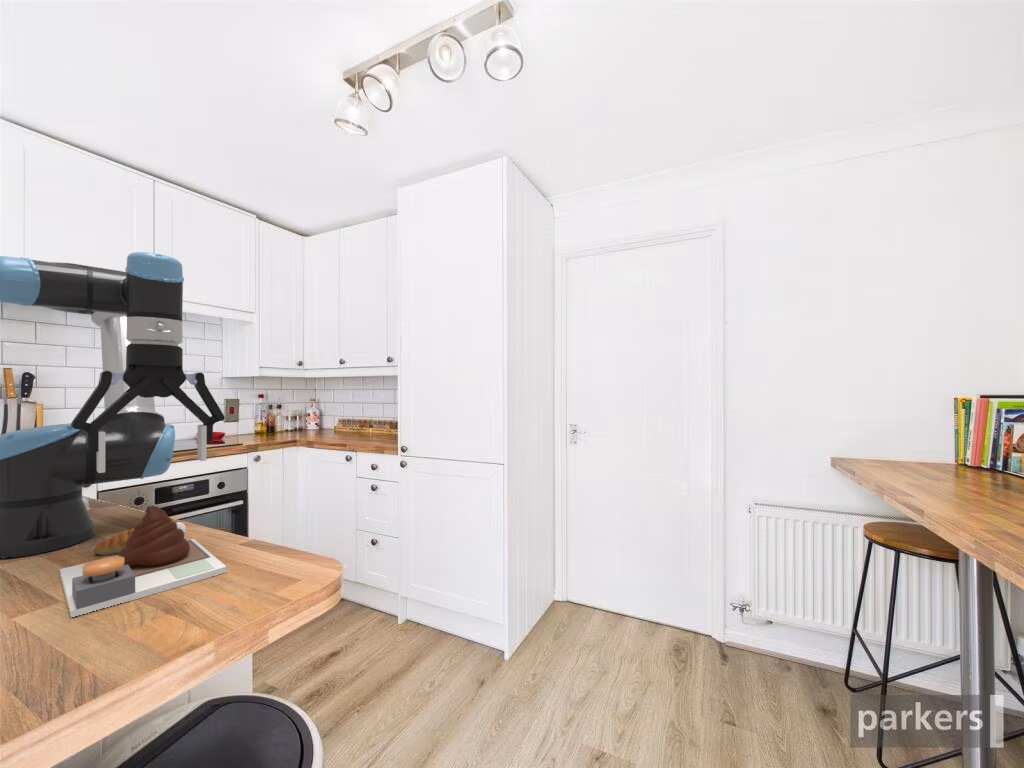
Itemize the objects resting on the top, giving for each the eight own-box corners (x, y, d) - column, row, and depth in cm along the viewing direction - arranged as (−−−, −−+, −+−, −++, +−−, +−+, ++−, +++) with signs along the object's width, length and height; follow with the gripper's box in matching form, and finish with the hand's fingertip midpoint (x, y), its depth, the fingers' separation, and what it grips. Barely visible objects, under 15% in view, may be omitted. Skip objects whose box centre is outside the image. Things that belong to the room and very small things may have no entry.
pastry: (96, 561, 75) (96, 540, 75) (92, 552, 79) (92, 532, 80) (163, 546, 82) (163, 526, 82) (156, 538, 87) (156, 519, 87)
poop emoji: (102, 571, 68) (103, 514, 68) (145, 550, 77) (145, 499, 77) (167, 569, 69) (167, 512, 69) (202, 549, 77) (202, 498, 77)
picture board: (59, 575, 69) (60, 554, 69) (193, 543, 83) (193, 525, 83) (71, 618, 56) (71, 592, 56) (226, 572, 70) (226, 551, 70)
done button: (80, 586, 61) (80, 563, 61) (121, 576, 64) (121, 553, 64) (84, 596, 58) (84, 572, 58) (126, 584, 61) (126, 561, 61)
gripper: (50, 336, 61) (50, 481, 61) (243, 348, 80) (243, 458, 80) (47, 339, 66) (47, 473, 66) (230, 349, 85) (230, 453, 85)
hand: (155, 465), depth 73 cm, fingers open, 13 cm apart
